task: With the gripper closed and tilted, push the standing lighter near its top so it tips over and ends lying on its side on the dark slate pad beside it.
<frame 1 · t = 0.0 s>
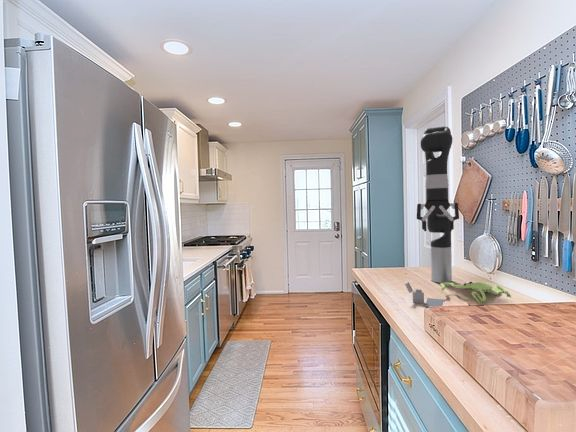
hand: (437, 231, 123), 29 cm above the countertop, tool pointing down, fingers open, 8 cm apart
figurine: (473, 296, 141), on the countertop
slate pad: (447, 305, 129), on the countertop
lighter: (414, 302, 134), on the countertop
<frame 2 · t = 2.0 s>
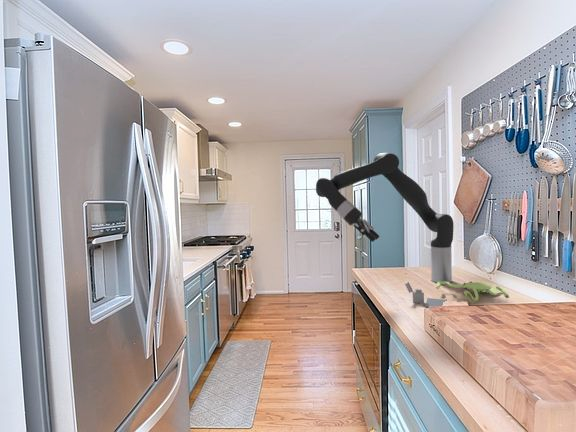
hand: (376, 239, 143), 25 cm above the countertop, tool tilted 45°, fingers open, 7 cm apart
figurine: (470, 296, 141), on the countertop
everything else where it was.
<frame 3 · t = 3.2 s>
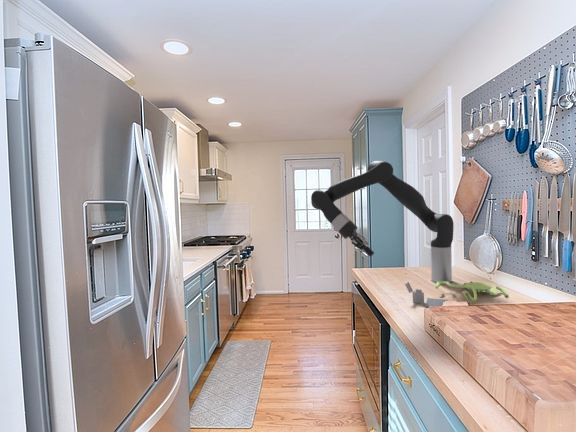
hand: (372, 254, 142), 18 cm above the countertop, tool tilted 45°, fingers closed
nothing on the countertop moved.
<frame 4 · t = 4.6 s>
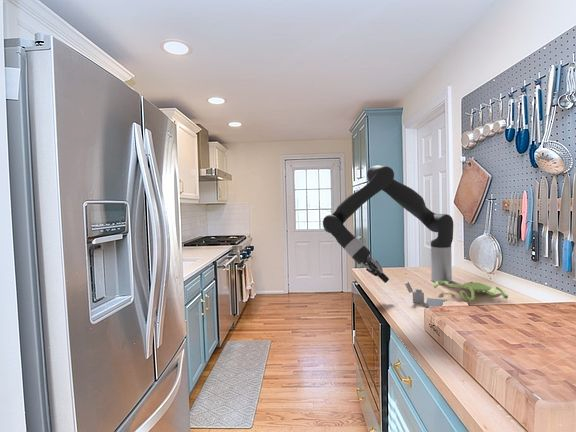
hand: (387, 281, 139), 8 cm above the countertop, tool tilted 45°, fingers closed
figurine: (468, 296, 141), on the countertop, touching slate pad
everything else where it was.
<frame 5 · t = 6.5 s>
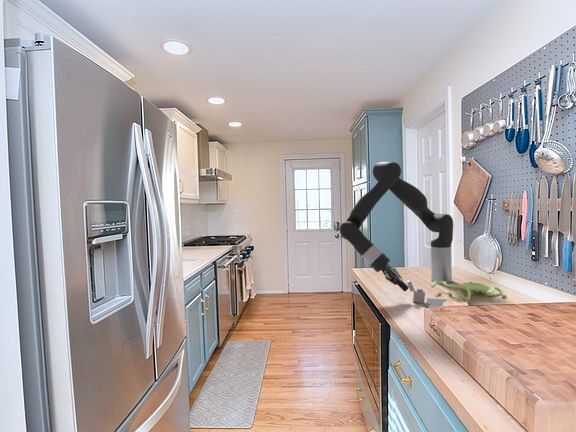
hand: (406, 289, 135), 5 cm above the countertop, tool tilted 45°, fingers closed
figurine: (466, 296, 142), on the countertop
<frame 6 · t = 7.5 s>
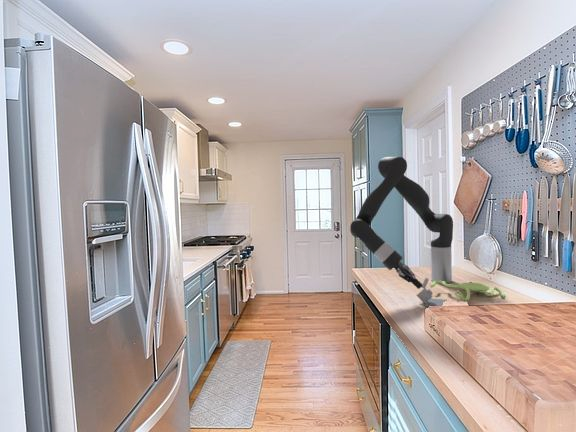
hand: (420, 287, 133), 6 cm above the countertop, tool tilted 45°, fingers closed
figurine: (465, 296, 141), on the countertop, touching slate pad
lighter: (417, 296, 134), point 2 cm above the countertop, touching gripper
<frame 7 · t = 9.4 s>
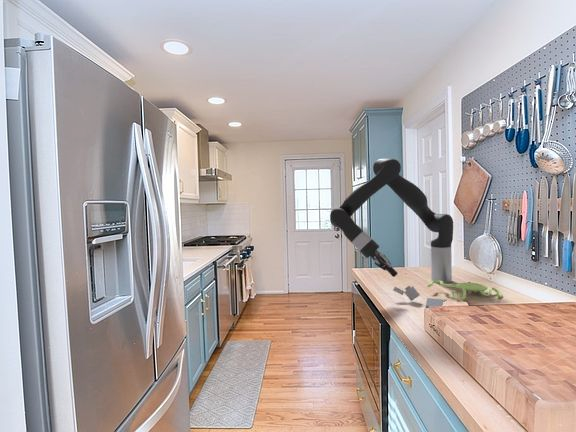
hand: (395, 275, 137), 10 cm above the countertop, tool tilted 45°, fingers closed
figurine: (463, 295, 142), on the countertop, touching slate pad
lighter: (412, 300, 134), point 1 cm above the countertop
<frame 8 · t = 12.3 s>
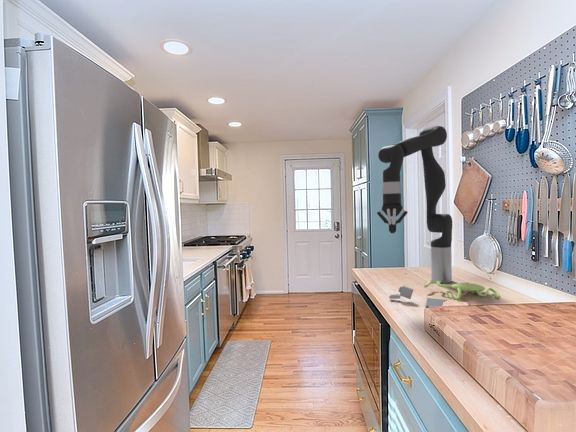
hand: (392, 233, 143), 27 cm above the countertop, tool pointing down, fingers closed
figurine: (459, 296, 142), on the countertop
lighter: (411, 297, 135), point 2 cm above the countertop
at the end: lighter tilted 71°; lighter inside the target area (9.3 cm from its centre), point 1.5 cm above the countertop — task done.
